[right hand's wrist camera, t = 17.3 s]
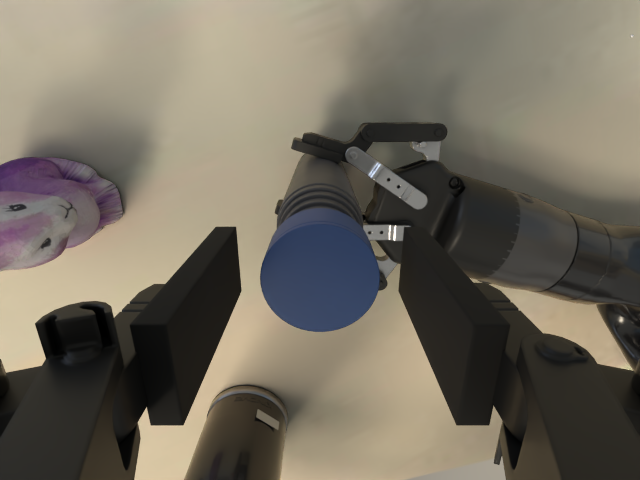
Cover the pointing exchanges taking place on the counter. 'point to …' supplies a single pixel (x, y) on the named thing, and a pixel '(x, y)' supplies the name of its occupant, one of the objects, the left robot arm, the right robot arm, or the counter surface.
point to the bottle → (319, 190)
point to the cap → (320, 271)
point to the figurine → (50, 209)
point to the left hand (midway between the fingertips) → (285, 175)
